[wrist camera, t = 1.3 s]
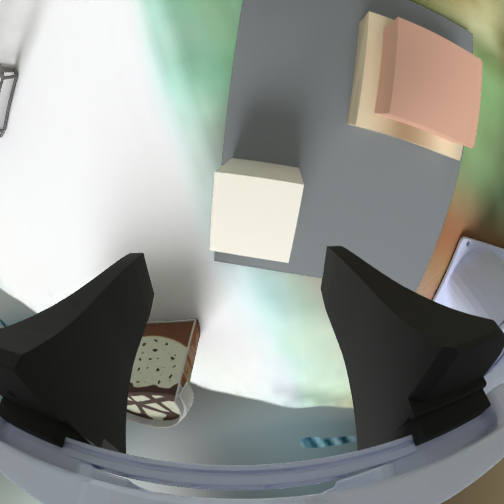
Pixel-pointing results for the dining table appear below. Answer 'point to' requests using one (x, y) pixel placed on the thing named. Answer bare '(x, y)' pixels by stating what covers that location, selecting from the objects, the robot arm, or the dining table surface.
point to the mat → (335, 137)
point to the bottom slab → (368, 88)
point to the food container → (163, 373)
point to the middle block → (429, 83)
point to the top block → (255, 209)
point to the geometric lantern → (0, 74)
